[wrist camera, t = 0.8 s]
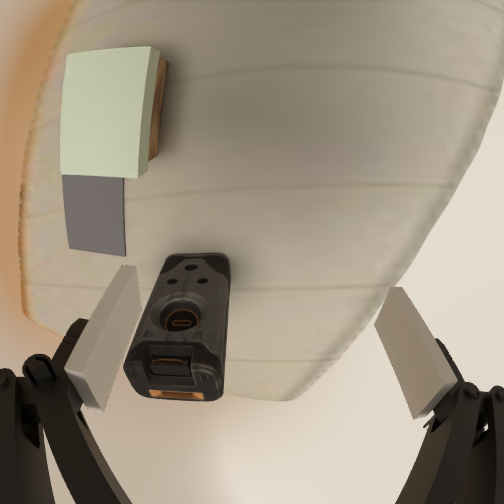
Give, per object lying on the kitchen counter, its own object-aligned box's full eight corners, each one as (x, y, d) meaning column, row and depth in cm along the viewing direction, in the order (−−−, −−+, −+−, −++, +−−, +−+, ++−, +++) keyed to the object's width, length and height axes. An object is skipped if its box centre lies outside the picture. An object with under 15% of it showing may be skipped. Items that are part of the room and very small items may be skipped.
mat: (63, 159, 33) (61, 159, 33) (124, 161, 34) (123, 161, 34) (70, 247, 40) (69, 248, 39) (126, 255, 41) (125, 256, 40)
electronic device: (228, 251, 41) (218, 367, 23) (231, 287, 43) (225, 403, 26) (163, 254, 41) (117, 362, 23) (170, 288, 43) (136, 398, 26)
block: (88, 58, 22) (67, 54, 19) (164, 53, 23) (150, 46, 19) (81, 163, 28) (60, 174, 24) (151, 167, 29) (137, 178, 25)
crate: (115, 63, 28) (89, 58, 21) (168, 61, 28) (150, 53, 22) (107, 152, 33) (81, 165, 27) (157, 155, 34) (138, 168, 28)
